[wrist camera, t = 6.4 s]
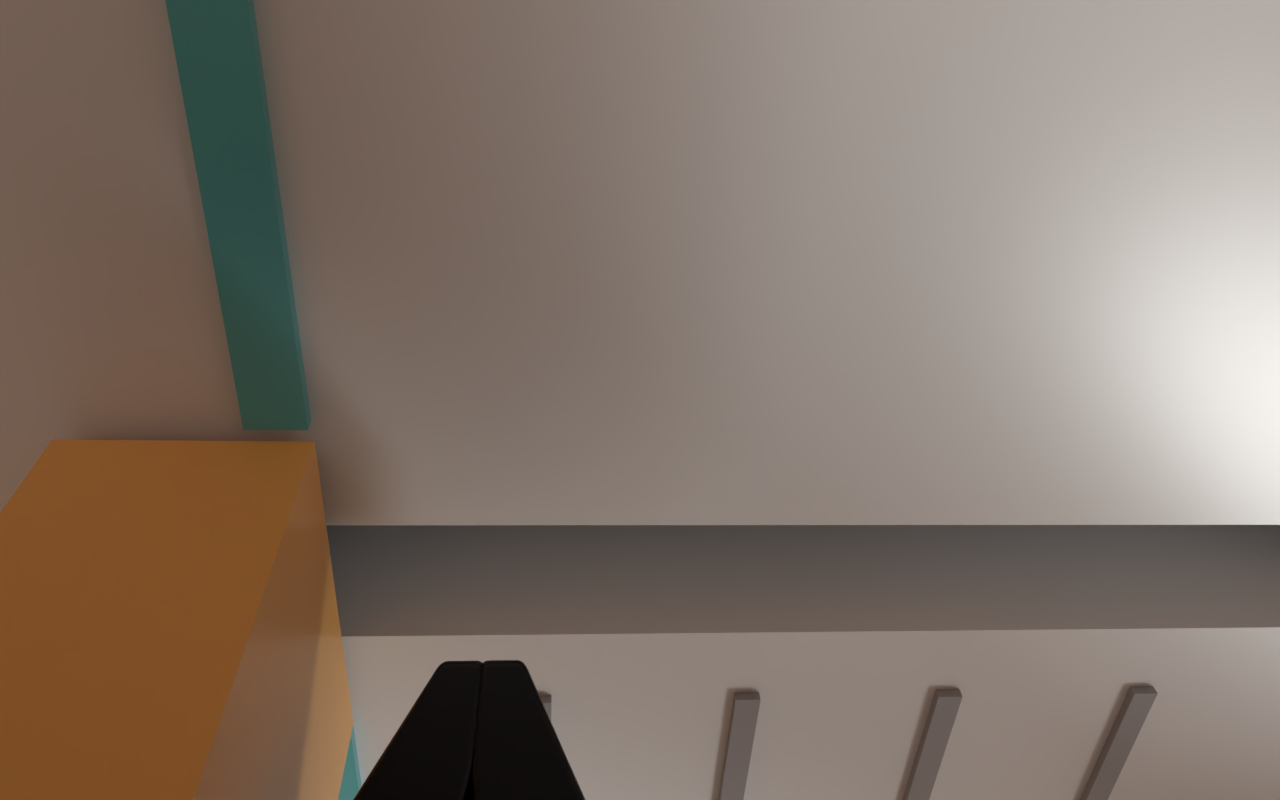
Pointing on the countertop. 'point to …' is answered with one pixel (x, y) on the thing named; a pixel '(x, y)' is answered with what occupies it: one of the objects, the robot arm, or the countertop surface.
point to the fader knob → (170, 625)
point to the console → (707, 361)
